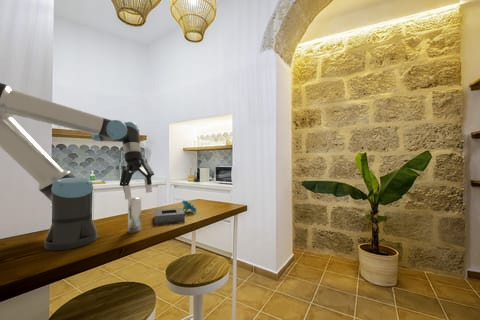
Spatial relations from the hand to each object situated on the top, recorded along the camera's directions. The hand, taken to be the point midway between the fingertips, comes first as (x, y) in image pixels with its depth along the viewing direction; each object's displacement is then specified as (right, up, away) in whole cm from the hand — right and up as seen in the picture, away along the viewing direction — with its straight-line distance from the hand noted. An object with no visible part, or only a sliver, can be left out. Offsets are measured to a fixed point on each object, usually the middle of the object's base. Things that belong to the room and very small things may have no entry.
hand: (138, 195), depth 96 cm
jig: (+10, -14, +11) cm, 21 cm away
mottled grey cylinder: (+2, -14, -7) cm, 16 cm away
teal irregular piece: (+17, -15, +27) cm, 35 cm away
